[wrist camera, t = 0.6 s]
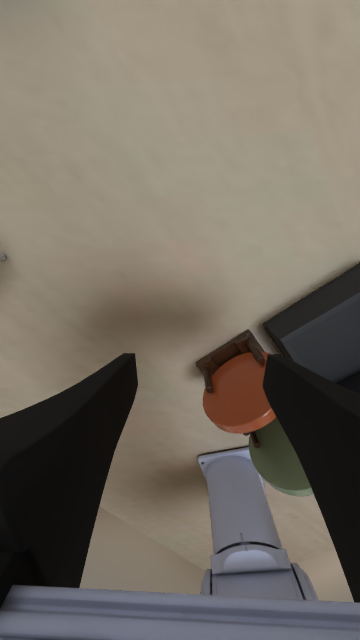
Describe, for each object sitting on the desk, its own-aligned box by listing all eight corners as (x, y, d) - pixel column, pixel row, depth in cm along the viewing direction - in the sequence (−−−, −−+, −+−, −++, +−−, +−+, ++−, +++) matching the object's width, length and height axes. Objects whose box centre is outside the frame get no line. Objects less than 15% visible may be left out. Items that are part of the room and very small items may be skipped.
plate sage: (303, 399, 22) (364, 476, 15) (243, 429, 24) (270, 510, 16) (300, 394, 22) (359, 469, 14) (240, 425, 24) (265, 505, 16)
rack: (300, 403, 23) (326, 437, 19) (250, 427, 25) (264, 464, 21) (248, 329, 20) (265, 350, 16) (195, 362, 22) (198, 389, 18)
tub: (403, 350, 21) (450, 371, 17) (310, 396, 23) (334, 423, 19) (364, 260, 18) (410, 262, 14) (262, 323, 20) (279, 339, 16)
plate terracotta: (266, 345, 20) (315, 402, 12) (204, 382, 22) (213, 451, 14) (262, 339, 20) (309, 393, 12) (199, 377, 21) (206, 444, 14)
